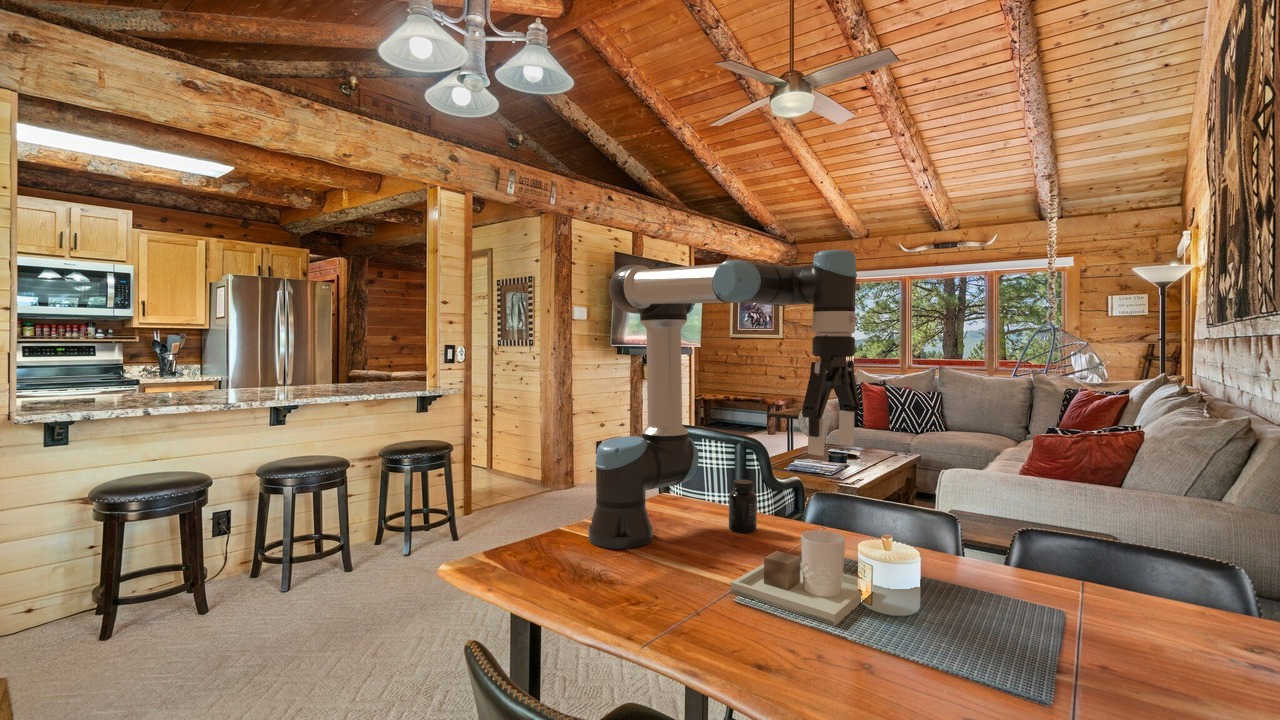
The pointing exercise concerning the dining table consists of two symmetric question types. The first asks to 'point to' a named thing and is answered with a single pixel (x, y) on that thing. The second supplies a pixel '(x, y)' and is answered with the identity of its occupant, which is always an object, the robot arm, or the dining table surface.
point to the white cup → (822, 562)
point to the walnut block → (782, 570)
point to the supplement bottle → (742, 507)
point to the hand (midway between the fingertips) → (831, 449)
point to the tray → (800, 597)
